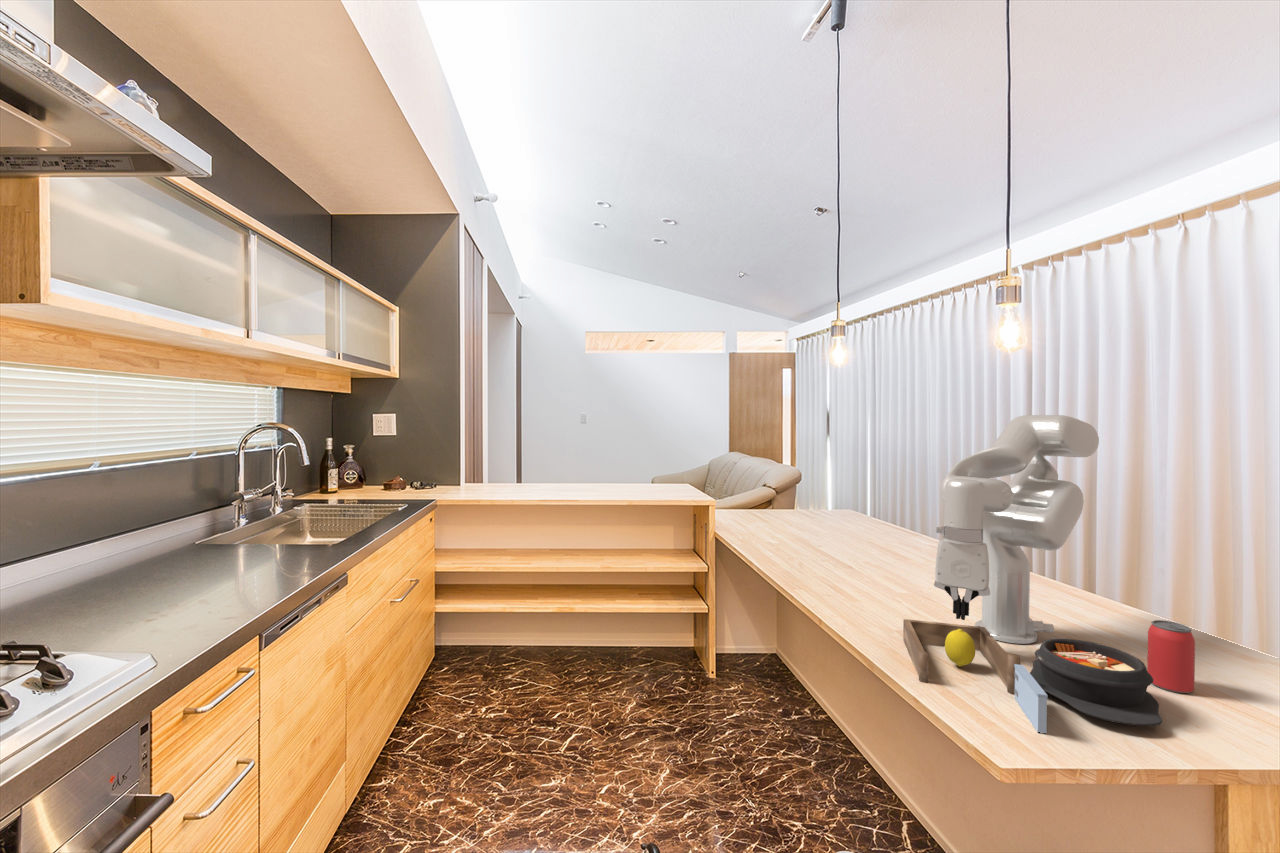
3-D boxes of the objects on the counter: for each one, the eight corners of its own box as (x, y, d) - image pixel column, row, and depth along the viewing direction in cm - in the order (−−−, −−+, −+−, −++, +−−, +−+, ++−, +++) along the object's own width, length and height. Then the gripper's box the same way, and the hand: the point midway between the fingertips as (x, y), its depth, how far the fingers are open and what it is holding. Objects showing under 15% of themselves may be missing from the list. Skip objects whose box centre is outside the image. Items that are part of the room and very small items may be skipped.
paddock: (986, 649, 123) (986, 618, 123) (1021, 695, 102) (1022, 658, 102) (902, 639, 128) (902, 610, 128) (919, 682, 108) (920, 647, 107)
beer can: (1183, 697, 102) (1184, 634, 102) (1139, 682, 108) (1140, 621, 108) (1201, 690, 104) (1202, 628, 104) (1157, 675, 110) (1158, 617, 110)
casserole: (1008, 663, 116) (1009, 624, 116) (1113, 674, 111) (1114, 634, 111) (1062, 726, 92) (1063, 677, 92) (1199, 745, 87) (1200, 693, 87)
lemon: (969, 675, 110) (970, 636, 110) (940, 666, 115) (940, 628, 114) (979, 667, 114) (979, 629, 114) (950, 658, 118) (950, 622, 118)
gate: (1014, 698, 101) (1014, 664, 101) (1022, 699, 101) (1023, 665, 101) (1037, 732, 90) (1037, 693, 90) (1047, 734, 90) (1047, 695, 90)
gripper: (923, 533, 122) (920, 615, 122) (1003, 542, 113) (1000, 630, 113) (927, 528, 128) (925, 606, 128) (1003, 537, 120) (1001, 620, 120)
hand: (960, 617), depth 121 cm, fingers closed
